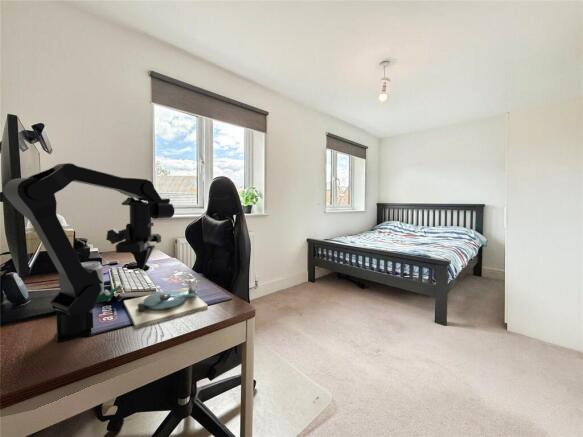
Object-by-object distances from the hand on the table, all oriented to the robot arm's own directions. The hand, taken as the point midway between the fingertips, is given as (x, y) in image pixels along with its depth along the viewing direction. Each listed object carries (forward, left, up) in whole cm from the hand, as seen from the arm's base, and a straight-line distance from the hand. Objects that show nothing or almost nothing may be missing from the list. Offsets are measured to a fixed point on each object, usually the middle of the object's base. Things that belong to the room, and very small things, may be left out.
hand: (141, 269), depth 79 cm
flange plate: (+7, -4, -10) cm, 13 cm away
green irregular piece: (-7, +13, -12) cm, 19 cm away
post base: (+6, -4, -12) cm, 14 cm away
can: (-12, +17, -12) cm, 24 cm away
